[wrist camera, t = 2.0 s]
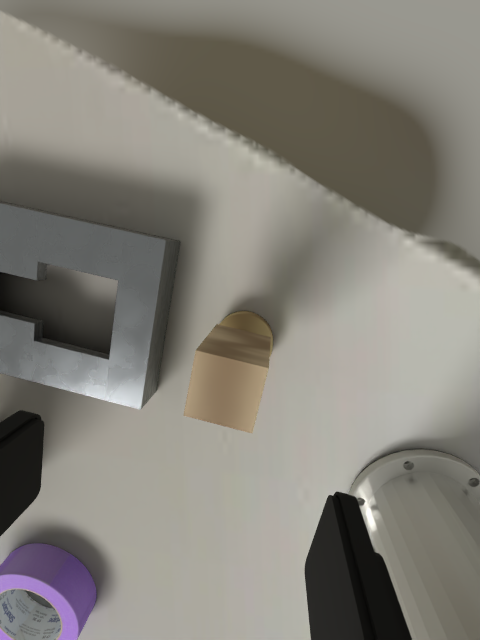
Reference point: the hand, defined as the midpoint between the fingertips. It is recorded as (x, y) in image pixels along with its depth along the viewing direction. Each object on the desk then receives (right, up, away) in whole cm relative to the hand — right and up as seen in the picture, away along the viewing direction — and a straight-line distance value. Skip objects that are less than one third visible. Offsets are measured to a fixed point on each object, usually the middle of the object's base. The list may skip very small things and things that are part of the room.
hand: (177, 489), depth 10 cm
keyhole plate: (-13, +7, +18) cm, 24 cm away
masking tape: (-20, -26, +27) cm, 43 cm away
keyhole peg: (+2, +4, +17) cm, 18 cm away
